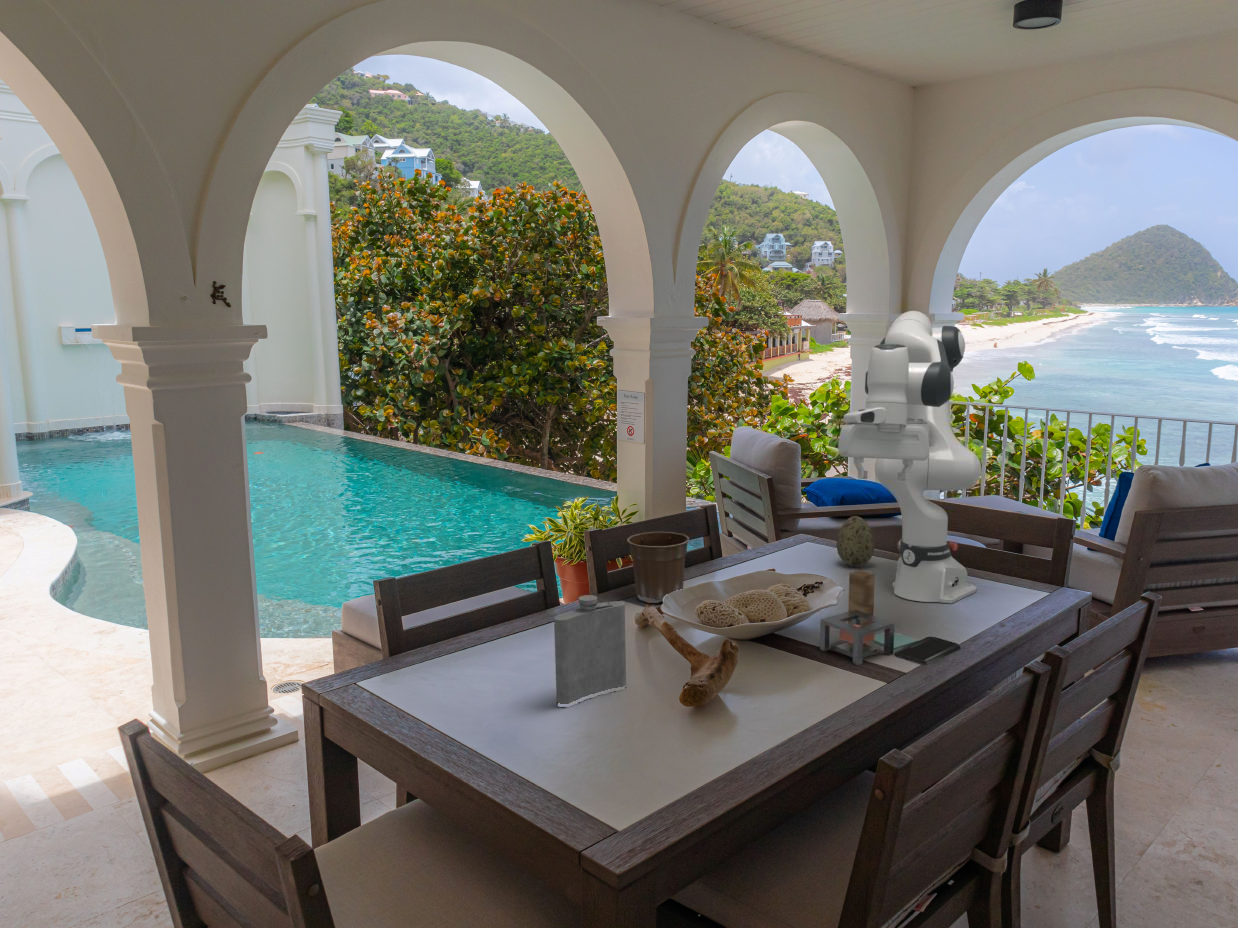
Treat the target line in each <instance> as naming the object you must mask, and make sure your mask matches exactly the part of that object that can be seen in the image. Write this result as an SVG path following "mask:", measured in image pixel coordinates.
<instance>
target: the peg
mask: <svg viewBox="0 0 1238 928" xmlns="http://www.w3.org/2000/svg"><path fill="white" fill-rule="evenodd" d="M848 576H849V579H848V580H849V581H848V609H847V610H848V611H847V612H849V611H853V610H858V611H861V612H864V613H867V614H870V615H872V616H874V614H875V613H874V612H875V610H874V609H875V605H874V604H875V579H876V577H875V576H876V575H875V573H873V572H870V571H866V570H863V569H858V570H855V571H850V572H849V574H848ZM847 623H848V624H850V625H851V620H850V621H847ZM868 624H870V623H867V622H864V621H862V620H860V626H864V625H868Z"/></svg>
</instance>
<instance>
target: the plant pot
mask: <svg viewBox="0 0 1238 928" xmlns="http://www.w3.org/2000/svg"><path fill="white" fill-rule="evenodd" d="M626 540H627V543H628V545H629V551H630V552H629V554H630V556H631V557H632V558H631V559H632V567H633V576H634V582H635V584H634V585H635V593H637V594H638V595H640V596H641V597H647V598H651V599H655V600H662V599H663V597H664V596H665V595H666V594H669V593H671V592H673V591H676V590H680V589H683V590H684V578H685V567H686V566H685V565H686V564H685V563H686V555H687V552H688V544H689V542H690V537H689V536H688V535H686V534H684V533H678V532H674V531H673V532H672V531H649V532H642V533H637V534H636V533H635V534H633V535H630V536H629V537H628V538H627V539H626Z"/></svg>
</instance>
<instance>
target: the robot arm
mask: <svg viewBox="0 0 1238 928" xmlns="http://www.w3.org/2000/svg"><path fill="white" fill-rule="evenodd" d="M965 351H966V342H965V336H964V335H963V334H962V332H961V330H960V329H959V327H957V326H955V325H954V326H953V325H943V326H942V327H941V326H939V327H933V326H932V323H931V320H930V318H929V317H928V316H927V315H926V314H924V313H923V312H921V311H917V310H909V311H905V312H903V313H902V314H901V315H899V316H898V317H897V318H896V319H894V321H893V322H892V323H891V325H890V326H889V328H888V331H887V332H886V335H885V337H884V338H882V340H881V341H880V343H879V344H876V345H874V346H873V347H872V348H871V351H870V356H869V362H868V368H867V371H866V372H865V377H864V379H865V380H864V381H865V382H864V392H865V394H866V395H867V397H866V400H865V407H864V408H863V409H858V410H855V411H851V412H848V413H845V414H844V415H843V423H845V424H843V426H842V427H841V428H840V432H839V439H838V445H837V448H838V449H837V450H838V451H837V452H838V454H839V455H840V457H845V458H853V464H854V467H855V468H856V471H857V478H858V479H862V480H867V479H868V473H869V472H868V471H869V470H865V469H864V466H863V463H864V461H865V459H876V460H875V463H874V474H875V476H876V478H877V480H878V482H879V483H880V484H881V485H882V487H884V488H886V489H887V490H888V491H889V492H890V493H891V494H892V495H893V497H894V498H895V500H896V501H897V504H898V506H899V510H900V513H901V522H902V523H901V525H902V527H901V528H902V530H901V531H902V532H901V536H902V537H901V538H902V539H901V540H900V543H899V554H900V555H901V556H899V558H898V560H897V565H896V566H897V567H896V573H895V581H893V582H892V587H893V593H894V595H896V596H898V597H899V598H902V599H905V600H908V601H909V600H910V601H915V602H916V601H917V602H924V603H942V604H955V603H956V602H958V601H960V600H962V599H964V598H966V597H969V596H970V595H972V594H974V593H977V591H978V587H977V586H975V585H973V584H971V583H969V582H968V571H967V569H966V567H965V566H964V565H963V564H961V563H960V562H958V561H957V560H956V559H955V558H953V556H952V553H951V550H952V551H955V552H956V551H957V550H958V547H959V545H958V543H957V542H952V541H949V542H948V525H949V523H948V522H949V521H948V520H949V517H948V513H947V512H946V511H945V509H944V508H943V507H941V506H939V505H938V504H936V503H934V502H931V501H930V500H928V499H927V498H926V497H925V496H924V494H923V492H924V491H943V492H944V491H946V492H947V491H949V492H955V491H962V490H963V491H964V490H969V489H973V488H974V487H975V486H976V484H977V483H978V482H979V480H980V477H981V476H982V465H981V461H980V458H979V457H978V456H977V455H976V453H975V452H974V451H972V450H970V449H969V448H967V447H966V446H965V445H963V444H962V443H961V442H960V441H959V440H958V439H957V437H956V436H955V434H954V431H953V430H952V425H951V417H950V416H951V415H950V400H951V397H952V395H953V392H954V389H955V388H954V385H955V384H954V383H955V382H954V374H953V372H954V368H956V367H957V366H958V365H959V364H960V363H961V361H962V360H963V359H964V354H965Z"/></svg>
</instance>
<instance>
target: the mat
mask: <svg viewBox="0 0 1238 928" xmlns="http://www.w3.org/2000/svg"><path fill="white" fill-rule="evenodd" d="M884 635H885V631H883V632H880V633H876V634H874V641H871V643H872V642H873V643H874V644H877V645H880V646H882V647H884ZM917 641H919V639H916V638H913V637H912V636H911V637H910V636H908V635H906V634H905V635H904V634H903V633H899V632H897V631H894V651H897V650H899V649H901V648H903V647H906V646H908V645H910V644H913V643H915V642H917Z"/></svg>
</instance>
